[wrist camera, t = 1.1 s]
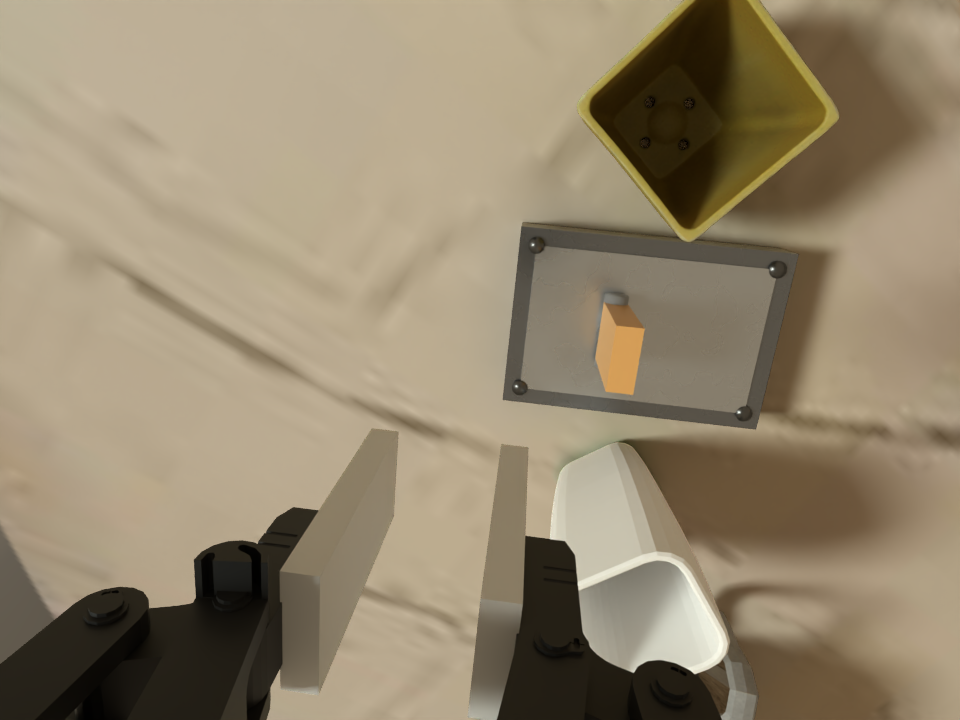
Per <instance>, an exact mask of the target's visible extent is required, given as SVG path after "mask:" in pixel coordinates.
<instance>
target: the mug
mask: <svg viewBox="0 0 960 720" xmlns="http://www.w3.org/2000/svg"><path fill="white" fill-rule="evenodd" d="M719 612H720V615H721V617H722V619H723V622H724V624H725V627H726V629H727V632H728V636H729V639H730V644H729V649H728V653H727V654H726V655H725V657H724V658H723V659H722V661H721V662H720V663H718V664H717V665H715V666H713V667H711V668H710V669H708V670H705V671H702V672H700V673H697V674H695V675H696V676H697V677H699V678H700V679H701V680H702V681H703V683H704V684H705V686H706V687H707V689H708V690H709V692H710V693H711V696H712V698H713V700H714V703H715V705H716V707H717V709H718V712H719V714H720V716H721V718H722V720H754V719H755V714H756V708H757V703H758V698H759V695H758V691H757V687H756V683H755V679H754V675H753V671H752V668H751V666H750V665H749V663H748V661H747V659H746V657H745V655H744V654H743V652H742V650H741V648H740V646H739V645H738V642H737V640H736V638H735V636H734V633H733V631H732V629H731V626H730V625H729V623H728V621H727V619H726V617H725V615H724V613H723V612H722V611H720V610H719Z"/></svg>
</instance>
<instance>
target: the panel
mask: <svg viewBox="0 0 960 720" xmlns="http://www.w3.org/2000/svg"><path fill="white" fill-rule="evenodd" d="M798 255H799V254H797V253H794V252H791V251H787V250H784V249H781V248H774V247H764V246H754V245H744V244H734V243H724V242H714V241H704V240H694V241H692V242H686V241H684V240H682V239H681V238H674V237H664V236H654V235H644V234H634V233H624V232H614V231H604V230H594V229H584V228H574V227H564V226H554V225H544V224H534V223H524V222H523V223H522V227H521V237H520V246H519V255H518V264H517V273H516V283H515V292H514V301H513V310H512V319H511V329H510V338H509V347H508V356H507V365H506V374H505V384H504V393H503V400H509V401H517V402H526V403H534V404H543V405H551V406H560V407H568V408H577V409H585V410H594V411H602V412H611V413H620V414H628V415H637V416H645V417H654V418H662V419H671V420H679V421H688V422H696V423H705V424H713V425H722V426H730V427H739V428H747V429H756V427H757V423H758V419H759V415H760V411H761V407H762V403H763V399H764V395H765V391H766V386H767V382H768V378H769V374H770V370H771V366H772V362H773V358H774V354H775V350H776V345H777V341H778V337H779V333H780V329H781V325H782V321H783V317H784V313H785V309H786V304H787V300H788V296H789V292H790V288H791V284H792V280H793V276H794V272H795V268H796V263H797V259H798ZM605 293H620V294H624V295H628V296H629V301H628V305H629V306H630V308H631V309H632V311H633V312H634V314H635V315H636V317H637V318H638V320H639V321H640V322H641V324H642V325H643V327H644V328H645V330H644V336H643V342H642V347H641V353H640V359H639V364H638V370H637V376H636V381H635V387H634V393H633V395H630V394H621V393H612V392H606V391H605V388H604V385H603V382H602V378H601V375H600V372H599V369H598V368H597V367H595V366H594V362H595V356H596V349H597V343H598V336H599V330H600V323H601V317H602V310H603V304H604V297H605Z"/></svg>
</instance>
